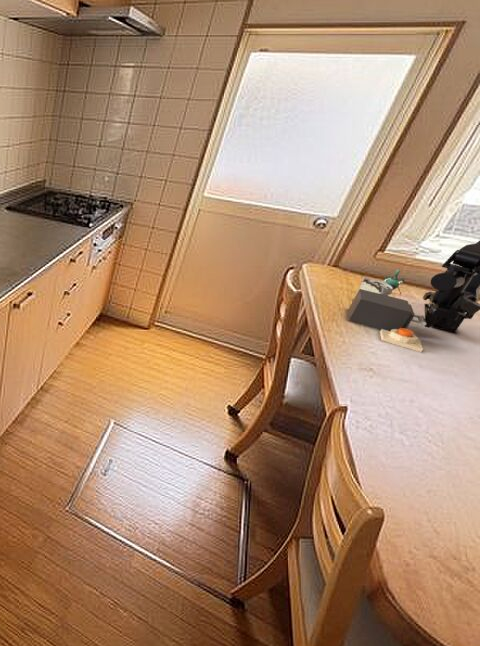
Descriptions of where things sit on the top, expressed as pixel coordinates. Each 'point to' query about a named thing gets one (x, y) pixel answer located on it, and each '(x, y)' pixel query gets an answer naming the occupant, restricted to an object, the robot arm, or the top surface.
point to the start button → (405, 332)
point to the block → (401, 339)
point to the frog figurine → (394, 281)
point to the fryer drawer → (420, 317)
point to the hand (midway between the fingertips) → (426, 327)
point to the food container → (375, 286)
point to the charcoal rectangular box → (378, 311)
